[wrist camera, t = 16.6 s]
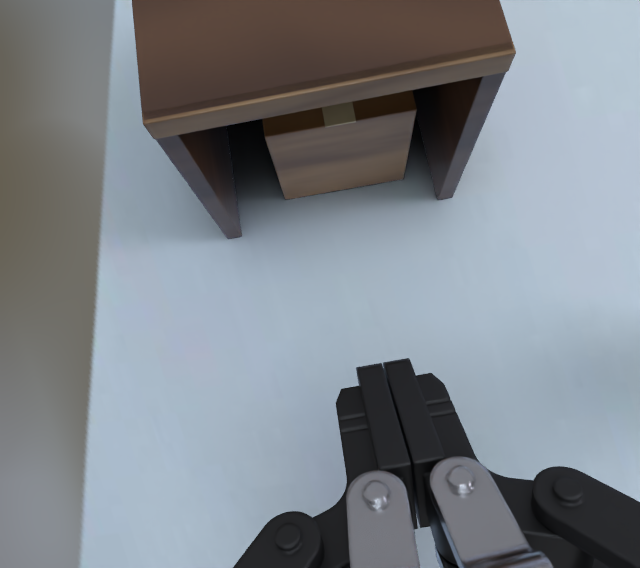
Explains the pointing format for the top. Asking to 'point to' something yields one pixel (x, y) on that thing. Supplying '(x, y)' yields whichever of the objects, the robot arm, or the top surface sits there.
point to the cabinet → (312, 75)
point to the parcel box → (341, 144)
